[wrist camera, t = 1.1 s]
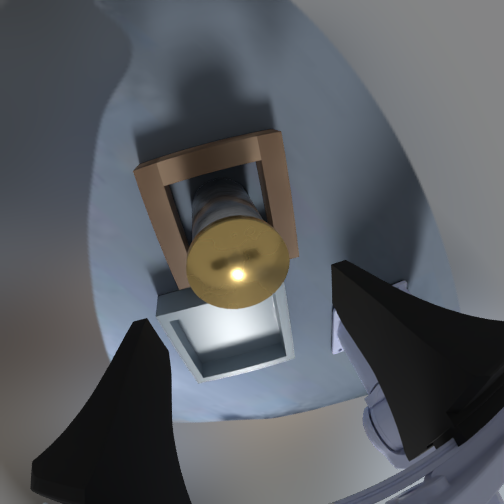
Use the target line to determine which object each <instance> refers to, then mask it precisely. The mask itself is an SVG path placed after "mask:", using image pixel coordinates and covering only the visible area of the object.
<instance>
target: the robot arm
mask: <svg viewBox="0 0 504 504" xmlns="http://www.w3.org/2000/svg"><path fill="white" fill-rule="evenodd" d="M331 270H332V304H333V306H334V309H333V326H332V353H333V354H337V353H339V352H342V351H345V353H346V355H347V356H348V358H349V360H350V362H351V364H352V365H353V367H354V369H355V371H356V373H357V374H358V376H359V378H360V380H361V382H362V383H363V385H364V387H365V389H366V391H367V393H368V394H369V395H368V396H367V397H366V398H365V401H366V403H367V405H368V406H367V407H366V408H365V409H364V413H363V426H364V429H365V432H366V434H367V436H368V438H369V440H370V441H371V443H372V444H373V445H374V447H375V448H376V449H377V450H379V451H380V452H381V453H383V454H384V455H385V456H386V457H387V459H388V460H389V461H390V463H391V464H392V465H394V467H395V468H396V469H405V470H403V471H401V472H399V473H398V474H396V475H394V476H392V477H390V478H388V479H386V480H384V481H382V482H380V483H378V484H376V485H374V486H372V487H370V488H367V489H365V490H363V491H361V492H358V493H356V494H353V495H351V496H348V497H346V498H344V499H341V500H338V501H335V502H333V503H330V504H374V503H376V502H379V501H381V500H383V499H385V498H387V497H389V496H391V495H393V494H395V493H396V492H398V491H400V490H402V489H404V488H406V487H407V486H409V485H411V484H412V483H414V482H416V481H417V480H419V479H421V478H422V477H424V476H425V475H426V476H425V478H424V481H423V482H422V483H420V484H418V485H415V486H413V487H411V488H410V489H408V490H406V491H404V492H403V493H401V494H399V495H398V496H396V497H394V498H392V499H391V500H389V501H387V502H386V503H385V504H504V502H503V500H502V498H501V496H500V494H499V492H498V490H499V489H500V488H501V486H502V485H503V484H504V321H497V320H489V319H484V318H479V317H474V316H470V315H466V314H462V313H459V312H455V311H452V310H449V309H445V308H443V307H440V306H437V305H434V304H432V303H429V302H427V301H424V300H422V299H419V298H417V297H415V296H413V295H412V294H411V293H410V292H409V291H408V290H407V289H406V287H407V282H406V281H405V280H404V281H401V282H399V283H396V284H394V285H390V284H388V283H387V282H385V281H383V280H381V279H379V278H377V277H376V276H374V275H372V274H370V273H368V272H367V271H365V270H363V269H361V268H360V267H358V266H356V265H354V264H352V263H350V262H349V261H347V260H344V261H341V262H338V263H335V264H332V265H331ZM31 490H32V491H33V492H35V493H37V494H39V495H41V496H44V497H46V498H49V499H52V500H54V501H57V502H60V503H63V504H192V503H191V501H190V498H189V495H188V493H187V490H186V486H185V484H184V480H183V476H182V473H181V469H180V465H179V461H178V457H177V452H176V446H175V441H174V435H173V426H172V379H171V366H170V358H169V351H168V349H167V348H166V346H165V345H164V343H163V342H162V341H161V339H160V338H159V336H158V334H157V333H156V331H155V330H154V328H153V327H152V325H151V324H150V322H149V320H148V319H147V318H146V319H142V320H138V321H134V322H133V323H132V325H131V326H130V328H129V330H128V332H127V333H126V335H125V337H124V339H123V341H122V343H121V344H120V346H119V348H118V350H117V352H116V354H115V356H114V357H113V359H112V361H111V363H110V365H109V367H108V368H107V370H106V372H105V373H104V375H103V377H102V379H101V380H100V382H99V384H98V385H97V387H96V389H95V390H94V392H93V394H92V395H91V397H90V398H89V399H88V401H87V402H86V404H85V405H84V407H83V408H82V410H81V411H80V412H79V413H78V415H77V416H76V417H75V419H74V420H73V421H72V422H71V423H70V425H69V426H68V427H67V428H66V430H65V431H64V432H63V433H62V434H61V435H60V436H59V437H58V438H57V439H56V440H55V441H54V443H53V444H51V446H49V447H48V448H47V449H46V450H45V451H44V452H43V453H42V454H41V455H39V456H38V457H37V458H36V459H35V460H33V462H32V473H31ZM43 504H47V503H43Z"/></svg>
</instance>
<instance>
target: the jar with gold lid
mask: <svg viewBox="0 0 504 504" xmlns="http://www.w3.org/2000/svg"><path fill="white" fill-rule="evenodd" d="M289 262H290V260H289V252H288V249H287V246H286V244H285V242H284V241H283V239H282V237H281V236H280V234H279V233H278V232H277V231H276V229H275V228H274V227H272V226H271V225H270V224H268V223H267V222H265V221H263V219H262V217H261V216H260V214H259V212H258V211H257V209H256V207H255V206H254V204H253V202H252V201H251V199H250V197H249V196H248V194H247V192H246V191H245V189H244V188H243V187H242V186H241V185H240V184H239V183H237V182H236V181H234V180H231V179H227V178H217V179H213V180H210V181H208V182H206V183H205V184H203V185H202V186H201V187H200V188H199V189H198V190H197V192H196V193H195V195H194V198H193V202H192V243H191V245H190V247H189V250H188V253H187V258H186V273H187V279H188V282H189V284H190V286H191V288H192V290H193V291H194V292H195V294H196V295H197V296H198V297H199V298H201V299H202V300H203V301H205V302H207V303H208V304H211V305H213V306H216V307H219V308H224V309H241V308H247V307H250V306H253V305H256V304H258V303H261V302H262V301H264V300H266V299H267V298H269V297H270V296H271V295H273V294H274V293H275V292H276V291H277V290H278V289H279V287H280V286H281V285H282V283H283V282H284V280H285V278H286V275H287V273H288V269H289Z"/></svg>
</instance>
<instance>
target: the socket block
mask: <svg viewBox="0 0 504 504" xmlns="http://www.w3.org/2000/svg"><path fill="white" fill-rule="evenodd" d="M255 161H256V165H257V170H258V175H259V180H260V185H261V190H262V196H263V201H264V206H265V211H266V217H267V222H268V224H270V225H271V226H272V227H274V228H275V229H276V231H277V232H278V233H279V234H280V236H281V237H282V239H283V241H284V242H285V244H286V246H287V249H288V252H289V259H292V258H296V257H299V251H298V243H297V234H296V226H295V219H294V211H293V204H292V197H291V190H290V183H289V176H288V170H287V163H286V157H285V151H284V145H283V139H282V133H281V131H278V130H274V129H269V130H264V131H258V132H254V133H249V134H244V135H240V136H235V137H231V138H227V139H222V140H218V141H214V142H211V143H207V144H203V145H199V146H196V147H192V148H189V149H185V150H182V151H178V152H175V153H172V154H169V155H165V156H162V157H159V158H156V159H153V160H150V161H147V162H144V163H141V164H139V165H138V166H137V167H136V168H135V169H134V171H133V172H134V175H135V178H136V181H137V184H138V187H139V190H140V193H141V196H142V199H143V201H144V204H145V207H146V210H147V212H148V215H149V218H150V220H151V223H152V226H153V228H154V231H155V233H156V236H157V238H158V241H159V243H160V246H161V248H162V251H163V253H164V256H165V258H166V260H167V263H168V265H169V268H170V270H171V272H172V275H173V277H174V279H175V281H176V284H177V286H178V288H179V290H181V289H184V288H188V287H191V286H190V284H189V282H188V279H187V273H186V258H187V253H188V250H189V247H190V246H189V244H188V241H187V238H186V235H185V232H184V229H183V226H182V223H181V220H180V217H179V214H178V211H177V208H176V205H175V202H174V199H173V196H172V193H171V190H170V187H169V184H173V183H176V182H179V181H182V180H186V179H189V178H193V177H196V176H200V175H203V174H207V173H211V172H214V171H218V170H222V169H226V168H230V167H234V166H238V165H242V164H246V163H250V162H255Z"/></svg>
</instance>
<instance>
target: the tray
mask: <svg viewBox="0 0 504 504" xmlns="http://www.w3.org/2000/svg"><path fill="white" fill-rule="evenodd" d="M156 318H157V320H158V321H159V323H160V325H161V327H162V328H163V330H164V332H165V333H166V335H167V336H168V338H169V340H170V341H171V343H172V345H173V346H174V348H175V349H176V351H177V352H178V354H179V356H180V357H181V359H182V360H183V362H184V363H185V365H186V366H187V368H188V369H189V371H190V372H191V374H192V375H193V377H194V378H195V379H196V381H197V382H198V384H199V383H203V382H208V381H213V380H217V379H222V378H226V377H230V376H234V375H238V374H242V373H246V372H250V371H254V370H257V369H261V368H264V367H268V366H271V365H275V364H278V363H281V362H285V361H288V360H291V359H294V358H295V354H294V346H293V339H292V332H291V325H290V318H289V311H288V304H287V297H286V291H285V284H284V282H283V283H282V285H281V286H280V287H279V289H278V290H277V291H276V292H275V293H274V294H273V295H271V296H270V297H269V298H267V299H266V300H264V301H262V302H261V303H258V304H256V305H253V306H250V307H247V308H241V309H224V308H219V307H216V306H213V305H211V304H208V303H207V302H205V301H203V300H202V299H201V298H199V297H198V296H197V295H196V294H195V292H194V291H193V290H192V288H187V289H183V290H179V291H176V292H172V293H168V294H164V295H160V296H158V300H157V310H156Z"/></svg>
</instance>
